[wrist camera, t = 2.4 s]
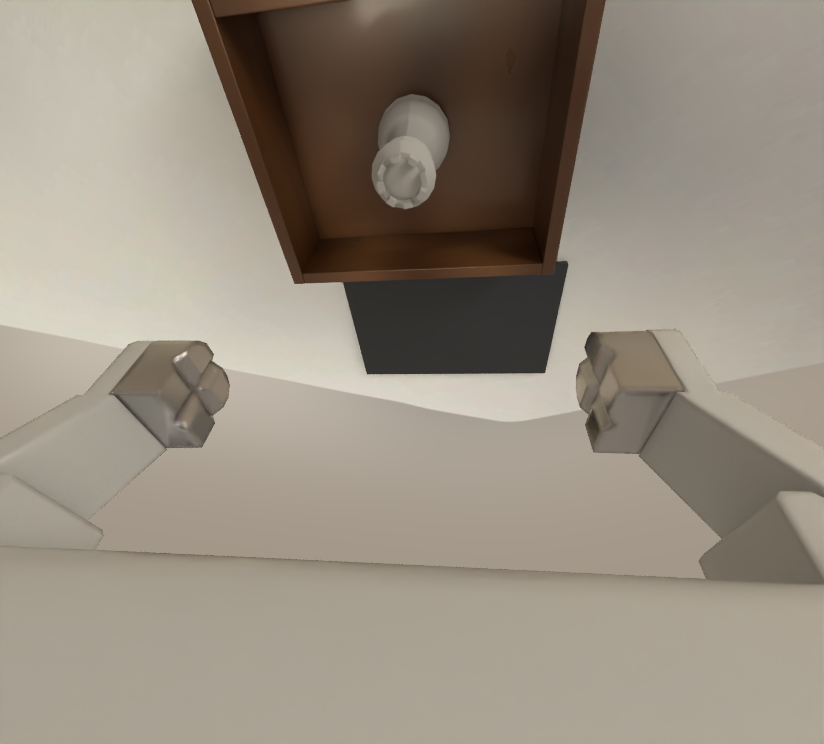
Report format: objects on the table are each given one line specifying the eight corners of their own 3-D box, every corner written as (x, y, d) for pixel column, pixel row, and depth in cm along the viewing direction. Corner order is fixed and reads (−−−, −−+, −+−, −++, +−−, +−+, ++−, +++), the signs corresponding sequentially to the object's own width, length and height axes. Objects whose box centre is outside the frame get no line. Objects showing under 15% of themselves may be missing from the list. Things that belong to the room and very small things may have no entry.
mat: (567, 261, 30) (568, 264, 29) (544, 369, 38) (545, 373, 38) (341, 270, 32) (340, 273, 32) (367, 370, 41) (366, 374, 40)
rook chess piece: (374, 94, 23) (348, 134, 17) (450, 89, 22) (447, 128, 17) (384, 174, 26) (364, 229, 21) (450, 171, 26) (448, 226, 20)
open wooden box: (586, -58, 18) (618, -66, 15) (541, 235, 29) (553, 274, 25) (237, -9, 20) (189, -5, 17) (314, 247, 31) (294, 284, 27)
